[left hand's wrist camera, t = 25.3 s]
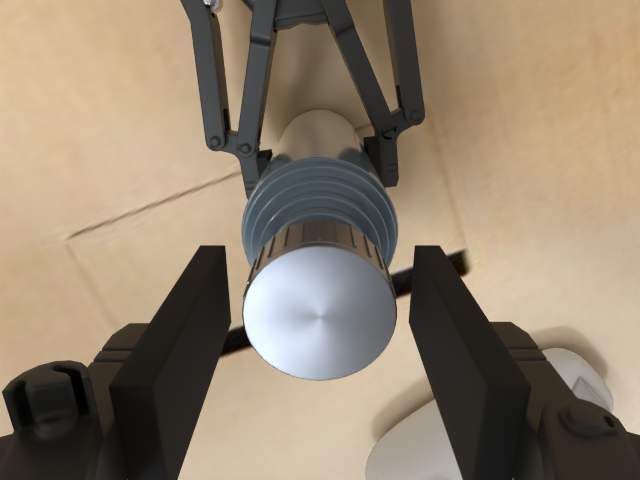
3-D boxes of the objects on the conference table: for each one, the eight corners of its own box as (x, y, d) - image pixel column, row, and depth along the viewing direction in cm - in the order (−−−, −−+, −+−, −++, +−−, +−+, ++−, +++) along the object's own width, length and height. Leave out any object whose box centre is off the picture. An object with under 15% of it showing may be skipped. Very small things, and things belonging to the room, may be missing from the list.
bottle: (366, 115, 35) (452, 214, 12) (352, 194, 38) (404, 402, 15) (284, 103, 35) (215, 183, 12) (276, 184, 37) (205, 380, 14)
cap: (415, 259, 14) (430, 291, 12) (343, 360, 16) (347, 404, 14) (292, 191, 13) (287, 214, 11) (228, 305, 15) (214, 342, 13)
